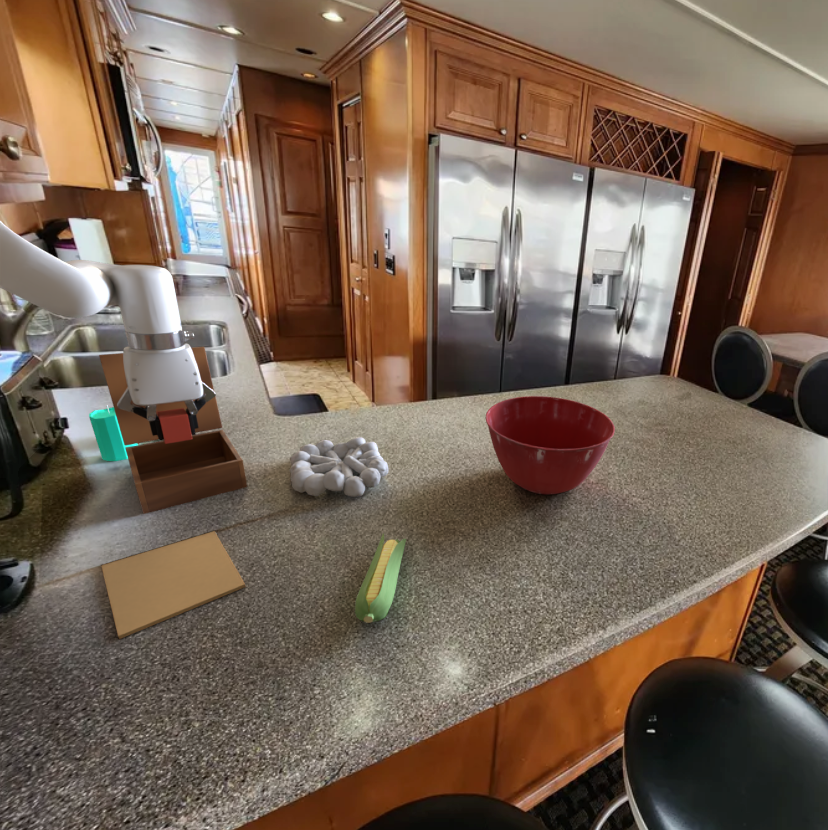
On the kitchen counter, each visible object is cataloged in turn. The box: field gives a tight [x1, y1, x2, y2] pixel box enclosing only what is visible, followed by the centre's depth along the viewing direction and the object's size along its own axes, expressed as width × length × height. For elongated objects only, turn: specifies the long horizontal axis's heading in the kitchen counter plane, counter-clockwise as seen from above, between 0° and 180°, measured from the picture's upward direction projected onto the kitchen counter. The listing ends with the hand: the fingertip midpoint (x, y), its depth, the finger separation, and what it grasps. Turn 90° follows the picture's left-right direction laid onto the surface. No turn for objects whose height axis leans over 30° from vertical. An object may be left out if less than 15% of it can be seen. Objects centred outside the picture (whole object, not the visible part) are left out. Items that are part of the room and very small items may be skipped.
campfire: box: [289, 436, 389, 498], centre depth 97 cm, size 22×21×6 cm
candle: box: [88, 404, 139, 462], centre depth 95 cm, size 6×6×12 cm
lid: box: [98, 346, 223, 445], centre depth 91 cm, size 17×16×1 cm
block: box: [157, 408, 192, 444], centre depth 86 cm, size 4×4×5 cm
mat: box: [100, 530, 247, 640], centre depth 69 cm, size 20×14×1 cm
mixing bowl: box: [485, 395, 616, 495], centre depth 103 cm, size 28×28×16 cm
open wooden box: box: [125, 429, 248, 515], centre depth 89 cm, size 17×16×7 cm
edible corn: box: [354, 533, 407, 624], centre depth 71 cm, size 5×20×5 cm, turn 8°
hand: (176, 434), depth 86 cm, fingers closed on block, 4 cm apart
